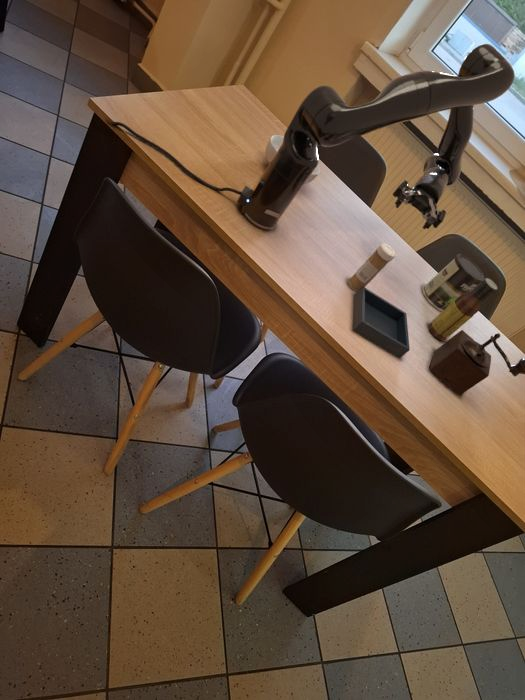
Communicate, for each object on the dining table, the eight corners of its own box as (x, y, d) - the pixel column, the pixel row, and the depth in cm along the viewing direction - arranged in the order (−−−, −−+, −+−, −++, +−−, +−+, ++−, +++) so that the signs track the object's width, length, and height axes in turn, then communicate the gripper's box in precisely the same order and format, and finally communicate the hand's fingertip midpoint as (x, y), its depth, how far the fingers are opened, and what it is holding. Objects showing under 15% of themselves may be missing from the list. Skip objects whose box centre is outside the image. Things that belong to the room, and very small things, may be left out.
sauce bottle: (444, 332, 139) (502, 286, 127) (444, 345, 135) (504, 298, 122) (426, 319, 138) (482, 271, 126) (426, 331, 134) (484, 283, 121)
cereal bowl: (314, 187, 152) (328, 168, 147) (292, 199, 139) (306, 179, 135) (274, 150, 153) (286, 130, 148) (248, 158, 140) (261, 137, 135)
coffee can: (453, 313, 150) (490, 282, 141) (433, 311, 144) (471, 279, 135) (435, 287, 155) (470, 255, 146) (416, 284, 149) (451, 251, 139)
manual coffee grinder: (427, 371, 122) (485, 326, 110) (434, 349, 130) (489, 306, 119) (474, 412, 122) (537, 373, 110) (478, 388, 130) (537, 349, 119)
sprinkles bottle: (364, 292, 129) (399, 256, 120) (353, 293, 126) (389, 256, 117) (354, 278, 130) (388, 242, 122) (344, 279, 127) (378, 242, 119)
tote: (352, 330, 115) (362, 321, 113) (353, 294, 125) (362, 285, 123) (399, 358, 119) (409, 350, 116) (397, 321, 129) (406, 313, 126)
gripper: (416, 163, 130) (398, 186, 119) (458, 196, 130) (445, 222, 119) (398, 185, 136) (380, 209, 125) (439, 217, 136) (425, 243, 125)
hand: (412, 215), depth 122 cm, fingers open, 8 cm apart
